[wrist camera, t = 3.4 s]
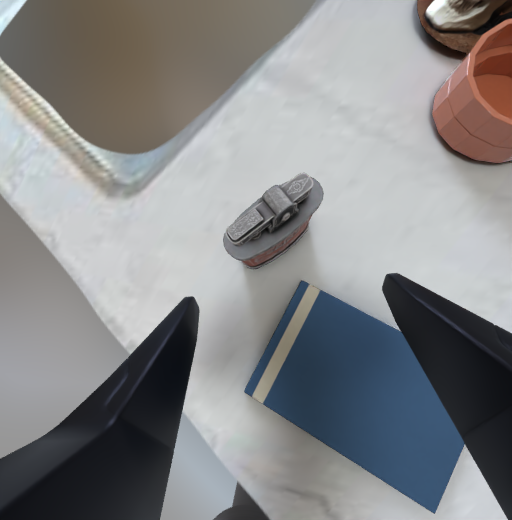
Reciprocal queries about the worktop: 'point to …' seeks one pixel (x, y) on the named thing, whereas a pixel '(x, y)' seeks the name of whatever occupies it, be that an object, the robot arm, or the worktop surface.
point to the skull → (462, 20)
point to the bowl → (480, 99)
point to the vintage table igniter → (273, 222)
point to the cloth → (359, 394)
